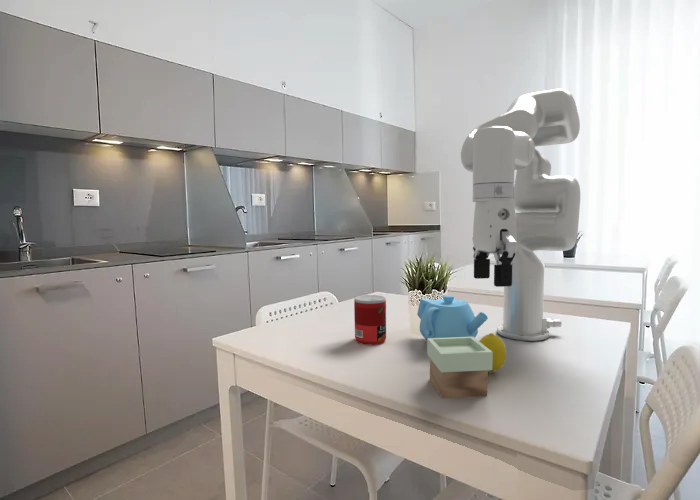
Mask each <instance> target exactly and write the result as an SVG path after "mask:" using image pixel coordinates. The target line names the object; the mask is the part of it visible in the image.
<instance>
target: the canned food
mask: <svg viewBox="0 0 700 500" xmlns="http://www.w3.org/2000/svg"><path fill="white" fill-rule="evenodd" d="M353 304H354V307H353V311H354V339H355V342H357V343H358V344H360V345H366V346H377V345H378V346H379V345H381V344H384V343H385V342H386V339H387V300H386V297H385V296H382V295H375V294H364V295H363V294H362V295H358V296H355V297H354V303H353Z"/></svg>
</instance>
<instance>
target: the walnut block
mask: <svg viewBox="0 0 700 500" xmlns="http://www.w3.org/2000/svg"><path fill="white" fill-rule="evenodd" d="M488 372H489V371H488V370H483V371H461V372H440V370H439V369H438V368H437V366H436V365H435V364H434V363H433V361H432V360H431V359H430V358H429V381H430V382H431V384H432V385H433V387H434V389H436V391H437V392H438V394H439V395H440V397H441V399H454V398H455V399H458V398H473V397H474V398H475V397H488V384H489V383H488V381H489V380H488V379H489V377H488V375H489V373H488Z"/></svg>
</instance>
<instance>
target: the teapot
mask: <svg viewBox="0 0 700 500" xmlns="http://www.w3.org/2000/svg"><path fill="white" fill-rule="evenodd" d="M417 317H418V318H419V319H420V322H419V332H420V334H421V335H422V337H423V338H424V339H425V340H427V338H449V337H474V338H475V339H476V337H477V336H478V333H479V330H478V329H479V328H480V327H481V326H483V324H484V323H485V322H487V320H488V316H487V314H485V313H484V312H479V313H478V314H477V315H476V316H475V313H474V312H473V310H472V308H471V306H470V303H469V302H468V301H466V300H464V299H460V300H458V299H455V296H454V295H450V294H446V295H442V298H440V299H434V300H432V299H429V298H426V297H423V298H420V299H419V304H418V308H417Z"/></svg>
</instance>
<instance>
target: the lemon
mask: <svg viewBox="0 0 700 500" xmlns="http://www.w3.org/2000/svg"><path fill="white" fill-rule="evenodd" d="M478 341H479V342H481V343H482V344H483V345H484V346H486V347H487V348H488V349H489V350H491V351H492V352H493V359H492V370H488V372H489V373H491V374H492V373H494V372H495V371H498V370H499V369H501V368H503V366H504V364H505V363H506V361H507V349H506V345H505V343H504V341H503V340H502V338H500V337H499V336H497V335H496V334H494V333H488V334H487V335H484V336H482V337H481V338H480V340H478Z"/></svg>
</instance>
